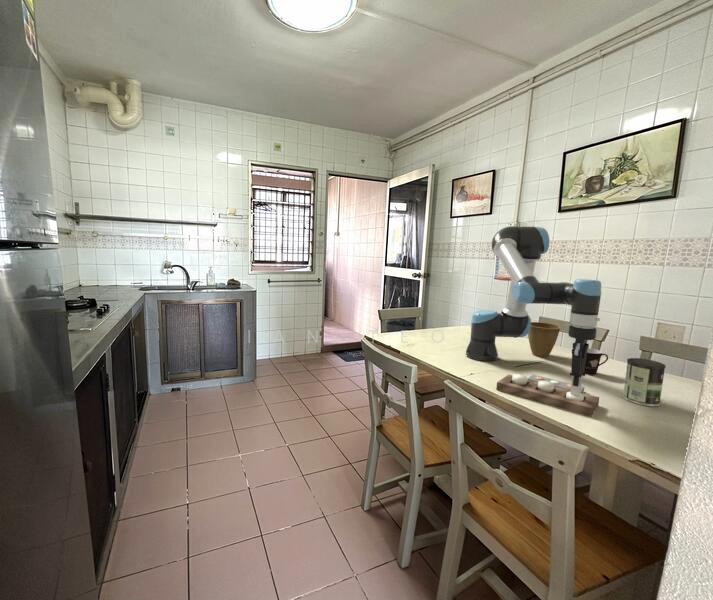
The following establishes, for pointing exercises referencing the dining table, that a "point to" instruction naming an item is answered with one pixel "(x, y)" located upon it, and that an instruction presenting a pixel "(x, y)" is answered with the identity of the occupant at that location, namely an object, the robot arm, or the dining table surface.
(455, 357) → the dining table surface
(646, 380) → the coffee can
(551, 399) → the button board
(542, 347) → the plant pot
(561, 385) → the pattern sign
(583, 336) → the robot arm
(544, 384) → the button middle
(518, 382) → the button left
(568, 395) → the button right
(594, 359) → the coffee mug
